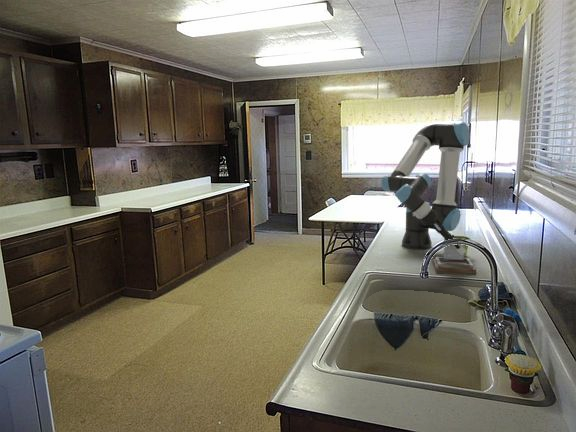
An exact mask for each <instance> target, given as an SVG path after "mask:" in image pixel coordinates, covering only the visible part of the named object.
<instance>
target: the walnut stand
mask: <svg viewBox="0 0 576 432" xmlns="http://www.w3.org/2000/svg"><path fill="white" fill-rule="evenodd" d="M432 266H433V267H434V270H435V272H436V274H455V275H457V274H459V275H476V274H477V269H476V268H475V266H474V264H473V262H472V261H471V259H470V257H464V260H455V259H445V258H444V256H435V257H434V258H432Z"/></svg>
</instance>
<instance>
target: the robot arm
mask: <svg viewBox="0 0 576 432" xmlns="http://www.w3.org/2000/svg"><path fill="white" fill-rule="evenodd" d="M470 137H471V134H470V129H469V126H468V124H467V123H466V122H464V121H456V120H455V121H435V122H431V123H429V124H427V125H426V126H425V125H424V127H423V128H421V129H420V130H418V132H417V133H416V134H415V135H414V136H413V138H412V143H411V145H410V146H409V148H408V149H407V151H406V152H405V154H404V155H403V157H402V158H401V159H400V161H399V162H398V163H397V166H396V167H395V168H394V170H393V171H392V172H391V174H387V175H383V177H382V179H381V181H380V183H381V184H380V185H381V187H382V190H383V191H387V192H393V193H395V197H396V198H397V200H398V201H399V202H400V203H401V204H402V205H403V206H405V208H406V212H405V232H404V235H403V237H402V240H401V246H402V247H404V248H406V249H411V250H427V249H431V248H432V246H433V245H432V239H431V236H430V233H429V229H430V230H431V229H432V230H435V231H436V232H437V233H438V234H439V235H440V236H441V237H443V239H446V240H448V239H453V238H454V236H455V235H454V234H452V233H450V232H453V231H454V230H456V228H457V227H458V226H459V223H460V220H461V210H460V209H459V208H458V204H457V203H456V202H455V199H456V197H455V196H456V189H457V180H458V171H459V165H460V164H459V163H460V156H461V153H462V152H463V151H464V150H465V147H467V146H468V145H469V143H470V139H471V138H470ZM435 146H438V150H439V151H440V152H441V153H440V163H439V170H438V180H437V188H436V198H435V200H434V201H433V202H432V205H431V202H427V201H426V200H425V199H424V198H423V196H424V195H425V193H426V192H427V190H428V189H430V186H431V185H432V178H431V177H430V175H429V174H427V173H425V172H420V173H418V174H417V175H415V176H411V174H412V172H413V171H414V169H415V168H416V167H417V165H418V163H419V162H420V161H421V159H422V157H423V156H424V154H425V153H426V151H429V150H430V149H431V148H432V147H435ZM450 246H451V245H450ZM452 246H453V247H454V248H455V249H456V250H457V251H458V252H459V253H460V254H461V255H463V254H464V253H465V252H466V250H465V249H464V248H463V247H462V246H461V245H460V244H457V245H452Z"/></svg>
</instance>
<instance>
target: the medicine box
mask: <svg viewBox="0 0 576 432" xmlns="http://www.w3.org/2000/svg"><path fill="white" fill-rule="evenodd" d="M443 239H444V240H443V242H444V241H445V240H446V239H445V238H443ZM460 245H461V244H460ZM461 246H462V247H463V248H464V245H461ZM443 257H444V258H445V259H455V260H464V258H465V256H464V254H463V255H461V254H460V253H459V252H458V251H457V250H456V249H455V248H454V247H453V246H452V245H451V246H447V247H445V248H444V247H443Z"/></svg>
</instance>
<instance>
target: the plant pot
mask: <svg viewBox="0 0 576 432" xmlns="http://www.w3.org/2000/svg"><path fill="white" fill-rule="evenodd" d="M454 238H465V239H470V241H471V239H472V238H471V237H468V236H465V235H454ZM464 249H465V250H466V252H465V253H464V257H466V256H467V253H468V249H469V245H468V246H466V245H464Z"/></svg>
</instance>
